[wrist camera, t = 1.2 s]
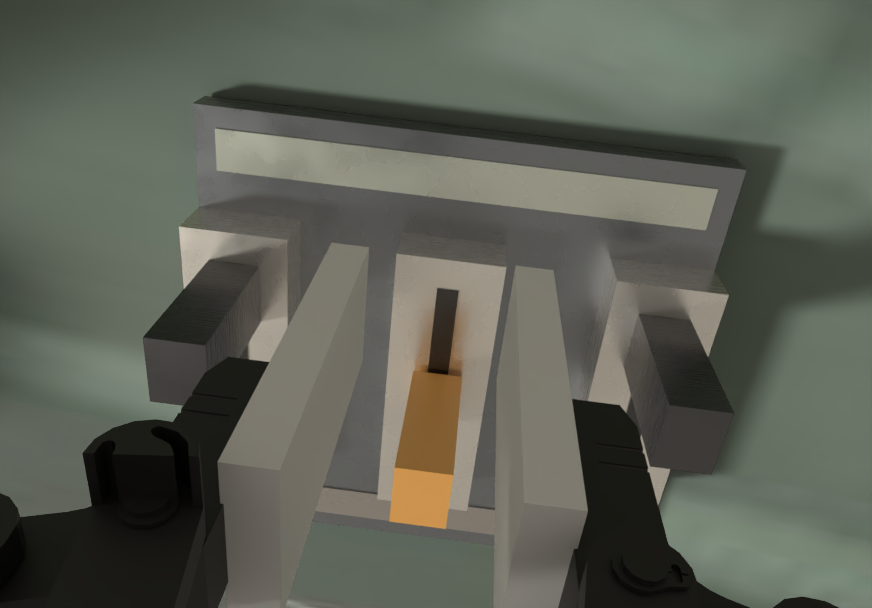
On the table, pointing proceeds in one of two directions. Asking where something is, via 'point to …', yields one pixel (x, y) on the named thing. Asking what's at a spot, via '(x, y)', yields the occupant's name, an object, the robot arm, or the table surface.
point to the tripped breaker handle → (426, 451)
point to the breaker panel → (458, 220)
